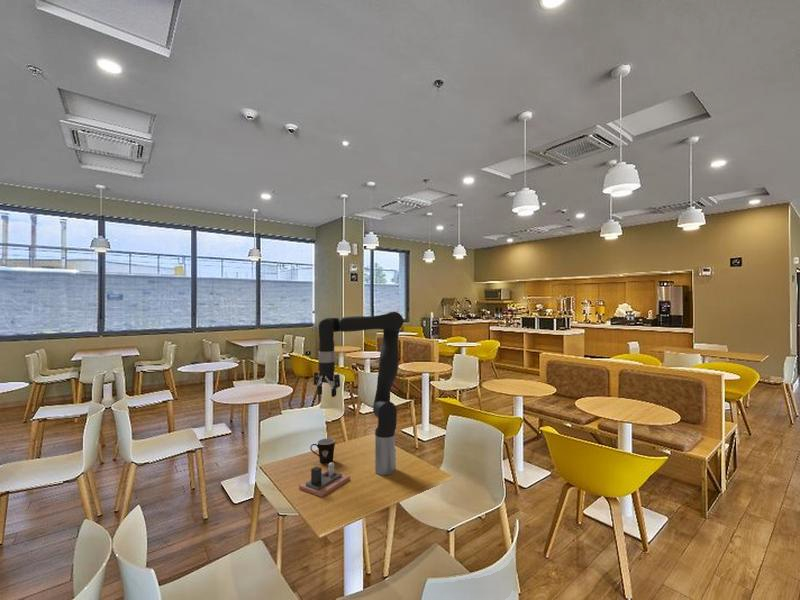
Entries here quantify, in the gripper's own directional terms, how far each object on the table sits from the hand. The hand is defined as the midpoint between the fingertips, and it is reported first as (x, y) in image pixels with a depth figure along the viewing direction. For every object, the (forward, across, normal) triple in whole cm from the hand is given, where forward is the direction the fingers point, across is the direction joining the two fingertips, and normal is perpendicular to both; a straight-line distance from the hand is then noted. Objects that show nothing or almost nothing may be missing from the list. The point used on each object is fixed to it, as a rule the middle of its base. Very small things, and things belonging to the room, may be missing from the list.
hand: (326, 395), depth 173 cm
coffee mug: (+36, +11, -10) cm, 39 cm away
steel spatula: (+35, -6, +9) cm, 36 cm away
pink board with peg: (+36, -7, +8) cm, 38 cm away
